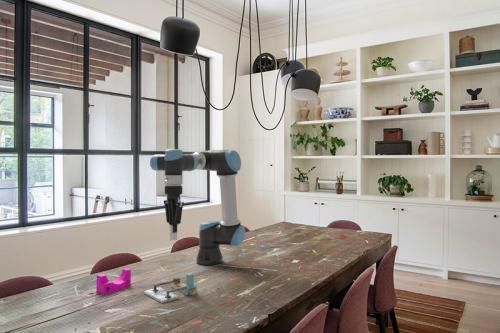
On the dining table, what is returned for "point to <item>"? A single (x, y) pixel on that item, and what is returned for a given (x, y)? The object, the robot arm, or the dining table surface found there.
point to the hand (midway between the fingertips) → (173, 239)
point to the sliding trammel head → (185, 288)
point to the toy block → (113, 282)
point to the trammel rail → (176, 285)
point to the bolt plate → (160, 295)
